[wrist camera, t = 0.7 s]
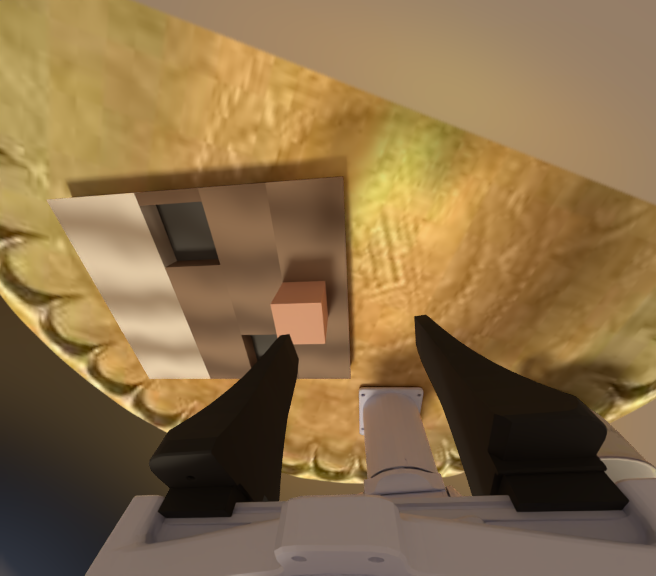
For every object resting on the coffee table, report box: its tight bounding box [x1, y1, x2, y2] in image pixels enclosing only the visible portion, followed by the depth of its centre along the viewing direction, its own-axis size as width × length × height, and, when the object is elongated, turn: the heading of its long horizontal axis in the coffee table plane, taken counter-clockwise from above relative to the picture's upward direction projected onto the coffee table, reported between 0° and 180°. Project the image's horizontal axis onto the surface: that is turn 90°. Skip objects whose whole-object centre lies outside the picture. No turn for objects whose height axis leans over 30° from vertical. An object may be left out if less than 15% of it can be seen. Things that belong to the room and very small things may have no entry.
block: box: [270, 281, 328, 344], centre depth 20 cm, size 4×4×4 cm
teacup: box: [590, 409, 656, 483], centre depth 26 cm, size 14×11×8 cm
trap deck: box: [47, 176, 351, 379], centre depth 24 cm, size 21×25×2 cm
